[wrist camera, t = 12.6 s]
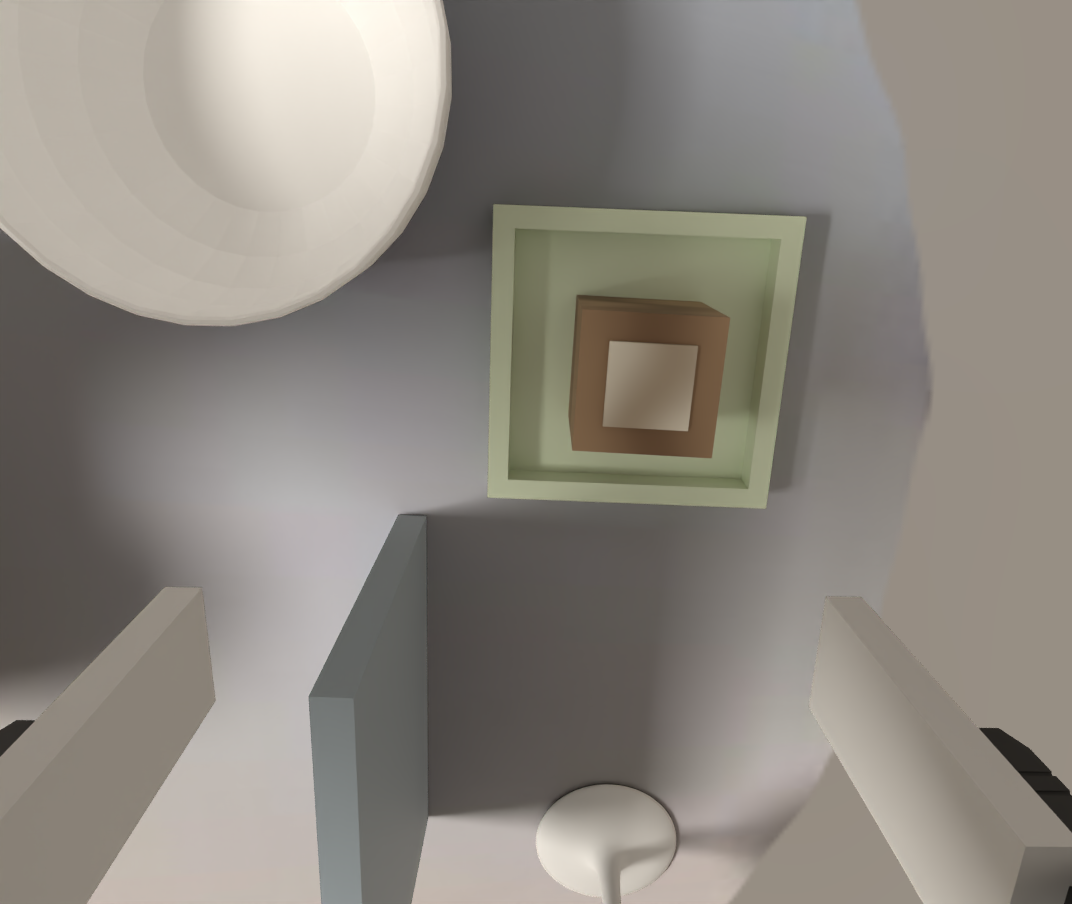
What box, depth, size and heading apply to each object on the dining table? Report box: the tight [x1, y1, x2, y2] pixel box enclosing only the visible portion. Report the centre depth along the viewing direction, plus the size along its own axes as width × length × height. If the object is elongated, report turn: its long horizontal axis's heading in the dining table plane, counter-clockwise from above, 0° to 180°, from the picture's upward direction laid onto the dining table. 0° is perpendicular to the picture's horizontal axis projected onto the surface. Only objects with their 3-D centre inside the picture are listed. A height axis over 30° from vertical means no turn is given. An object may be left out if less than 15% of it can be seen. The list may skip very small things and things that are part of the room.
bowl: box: [0, 0, 452, 326], centre depth 30 cm, size 19×19×9 cm
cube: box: [568, 295, 730, 458], centre depth 34 cm, size 6×6×6 cm
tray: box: [487, 204, 807, 509], centre depth 37 cm, size 14×14×2 cm
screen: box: [309, 515, 428, 904], centre depth 36 cm, size 20×2×16 cm, turn 178°
